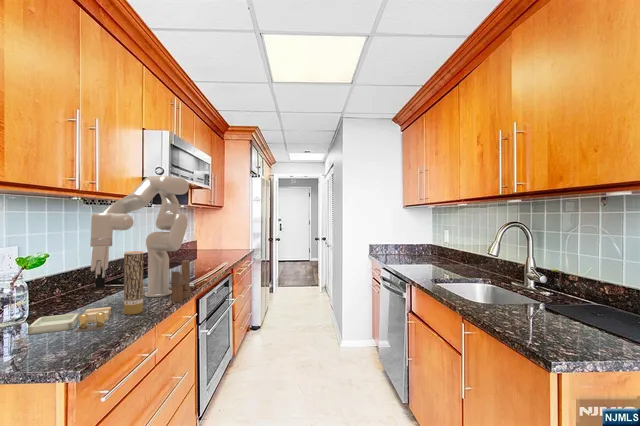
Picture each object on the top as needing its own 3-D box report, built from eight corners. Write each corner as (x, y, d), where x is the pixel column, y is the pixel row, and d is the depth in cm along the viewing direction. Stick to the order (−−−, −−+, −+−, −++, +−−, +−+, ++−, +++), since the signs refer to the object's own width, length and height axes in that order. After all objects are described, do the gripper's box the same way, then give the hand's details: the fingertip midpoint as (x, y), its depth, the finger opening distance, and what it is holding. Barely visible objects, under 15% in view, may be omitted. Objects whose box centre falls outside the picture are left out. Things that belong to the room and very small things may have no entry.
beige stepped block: (87, 318, 129) (87, 309, 129) (110, 315, 132) (111, 306, 132) (82, 325, 121) (82, 315, 121) (107, 321, 124) (107, 312, 124)
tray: (39, 324, 120) (39, 317, 120) (79, 319, 126) (79, 313, 126) (27, 334, 110) (27, 327, 110) (71, 329, 115) (71, 322, 115)
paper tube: (125, 311, 136) (125, 251, 136) (143, 309, 139) (144, 250, 139) (122, 316, 130) (122, 253, 130) (141, 314, 132) (141, 252, 133)
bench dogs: (78, 328, 116) (78, 314, 116) (105, 325, 119) (105, 311, 119) (75, 332, 112) (75, 318, 112) (103, 329, 115) (103, 314, 115)
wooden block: (171, 302, 151) (171, 263, 151) (184, 296, 162) (184, 259, 162) (178, 302, 151) (179, 263, 151) (191, 296, 161) (191, 260, 161)
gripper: (93, 242, 141) (92, 285, 140) (86, 244, 127) (85, 291, 126) (114, 241, 144) (113, 283, 143) (109, 243, 130) (108, 290, 130)
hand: (99, 287), depth 135 cm, fingers closed
